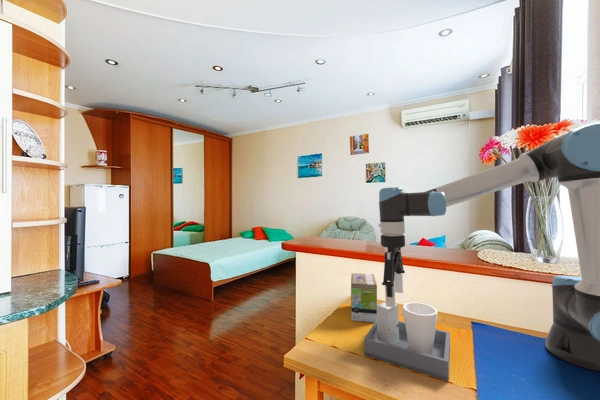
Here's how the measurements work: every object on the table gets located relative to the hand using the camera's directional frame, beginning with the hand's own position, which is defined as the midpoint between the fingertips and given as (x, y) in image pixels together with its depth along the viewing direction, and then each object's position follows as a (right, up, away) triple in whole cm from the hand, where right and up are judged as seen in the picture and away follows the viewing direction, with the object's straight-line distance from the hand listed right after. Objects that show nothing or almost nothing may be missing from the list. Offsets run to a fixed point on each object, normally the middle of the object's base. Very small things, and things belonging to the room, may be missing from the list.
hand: (395, 299), depth 84 cm
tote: (+2, -14, -5) cm, 15 cm away
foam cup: (+5, -13, -7) cm, 16 cm away
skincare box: (-3, -13, -2) cm, 14 cm away
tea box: (-5, -15, +21) cm, 26 cm away
